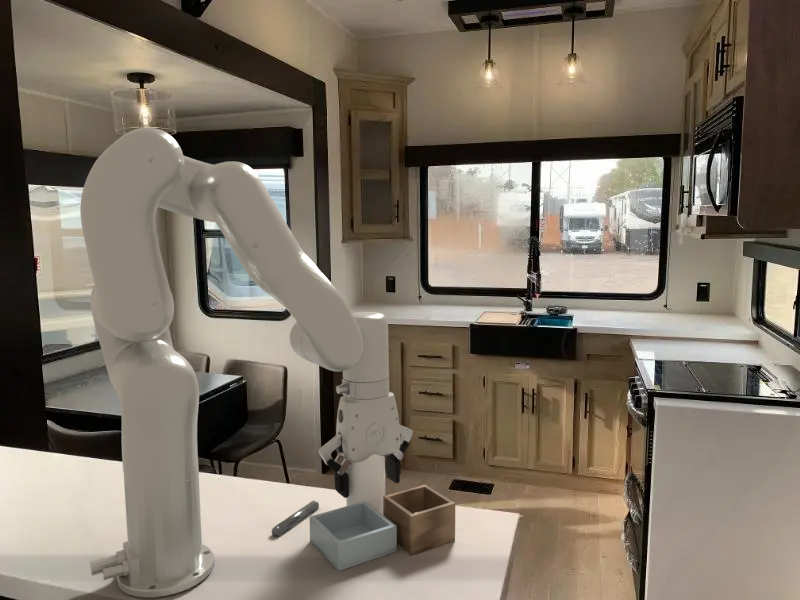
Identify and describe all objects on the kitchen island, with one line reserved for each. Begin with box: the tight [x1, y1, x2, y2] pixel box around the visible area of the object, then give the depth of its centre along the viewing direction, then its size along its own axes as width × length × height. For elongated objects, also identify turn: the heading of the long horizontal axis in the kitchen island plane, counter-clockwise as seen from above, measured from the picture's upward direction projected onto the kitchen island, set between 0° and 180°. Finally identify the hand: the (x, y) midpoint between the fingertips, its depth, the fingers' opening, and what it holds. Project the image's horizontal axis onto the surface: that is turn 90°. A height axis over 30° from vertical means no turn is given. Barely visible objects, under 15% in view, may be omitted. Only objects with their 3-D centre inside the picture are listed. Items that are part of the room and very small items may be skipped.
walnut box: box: [383, 484, 456, 556], centre depth 94 cm, size 8×8×6 cm
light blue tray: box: [309, 501, 398, 572], centre depth 91 cm, size 10×10×4 cm
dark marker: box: [271, 500, 320, 538], centre depth 99 cm, size 12×2×2 cm, turn 153°
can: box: [345, 454, 386, 515], centre depth 101 cm, size 6×6×12 cm
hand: (368, 487), depth 101 cm, fingers open, 9 cm apart
